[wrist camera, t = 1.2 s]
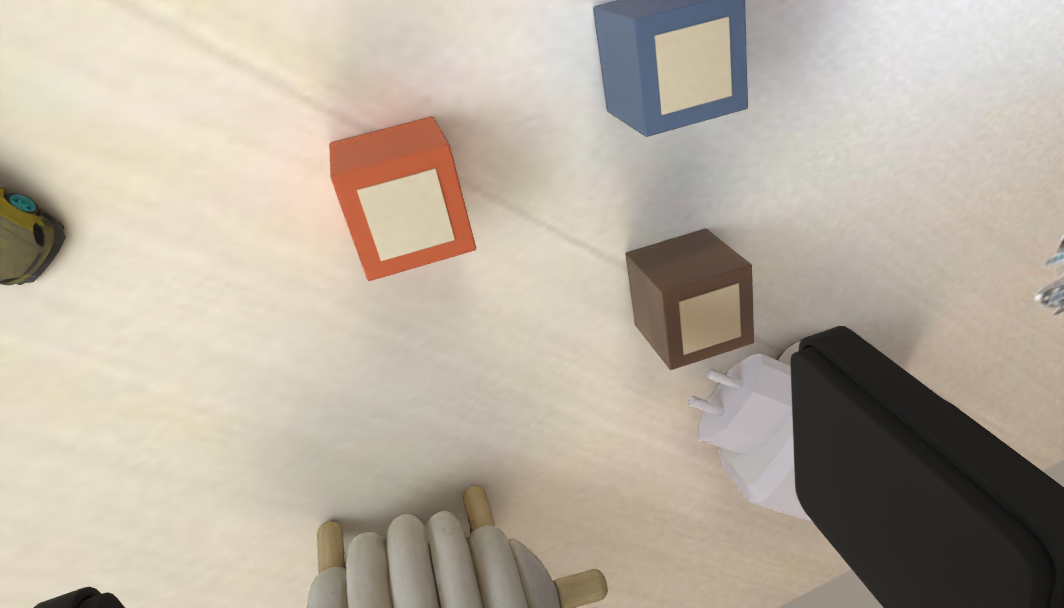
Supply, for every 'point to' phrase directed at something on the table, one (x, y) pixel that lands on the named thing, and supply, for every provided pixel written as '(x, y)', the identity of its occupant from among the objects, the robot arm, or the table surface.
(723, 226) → the table surface
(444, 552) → the toy sheep
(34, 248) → the race car
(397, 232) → the terracotta block
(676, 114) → the slate block
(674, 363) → the walnut block
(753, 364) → the charger
